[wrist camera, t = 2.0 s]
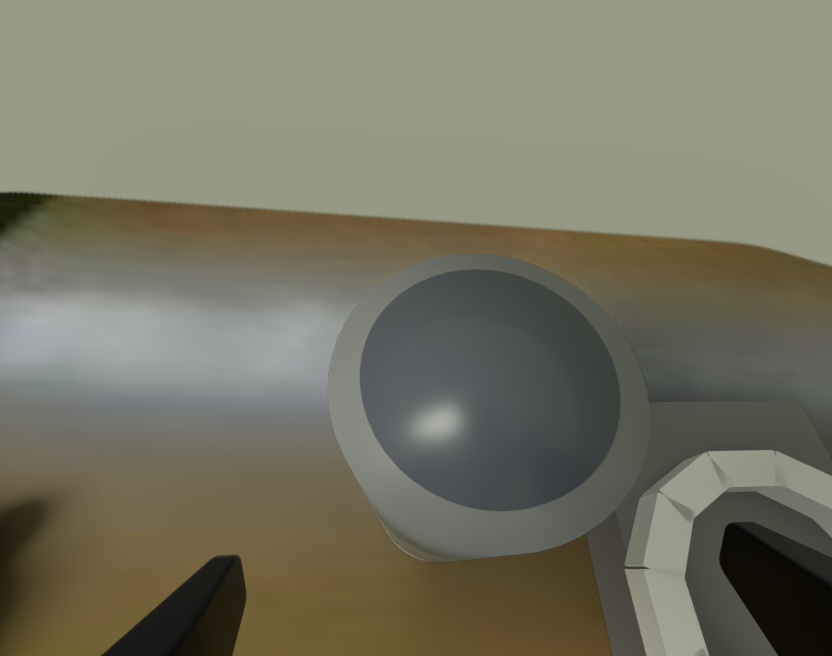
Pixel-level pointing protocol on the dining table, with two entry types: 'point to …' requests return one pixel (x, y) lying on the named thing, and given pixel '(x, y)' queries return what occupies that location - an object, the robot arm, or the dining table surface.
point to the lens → (486, 408)
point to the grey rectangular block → (706, 523)
